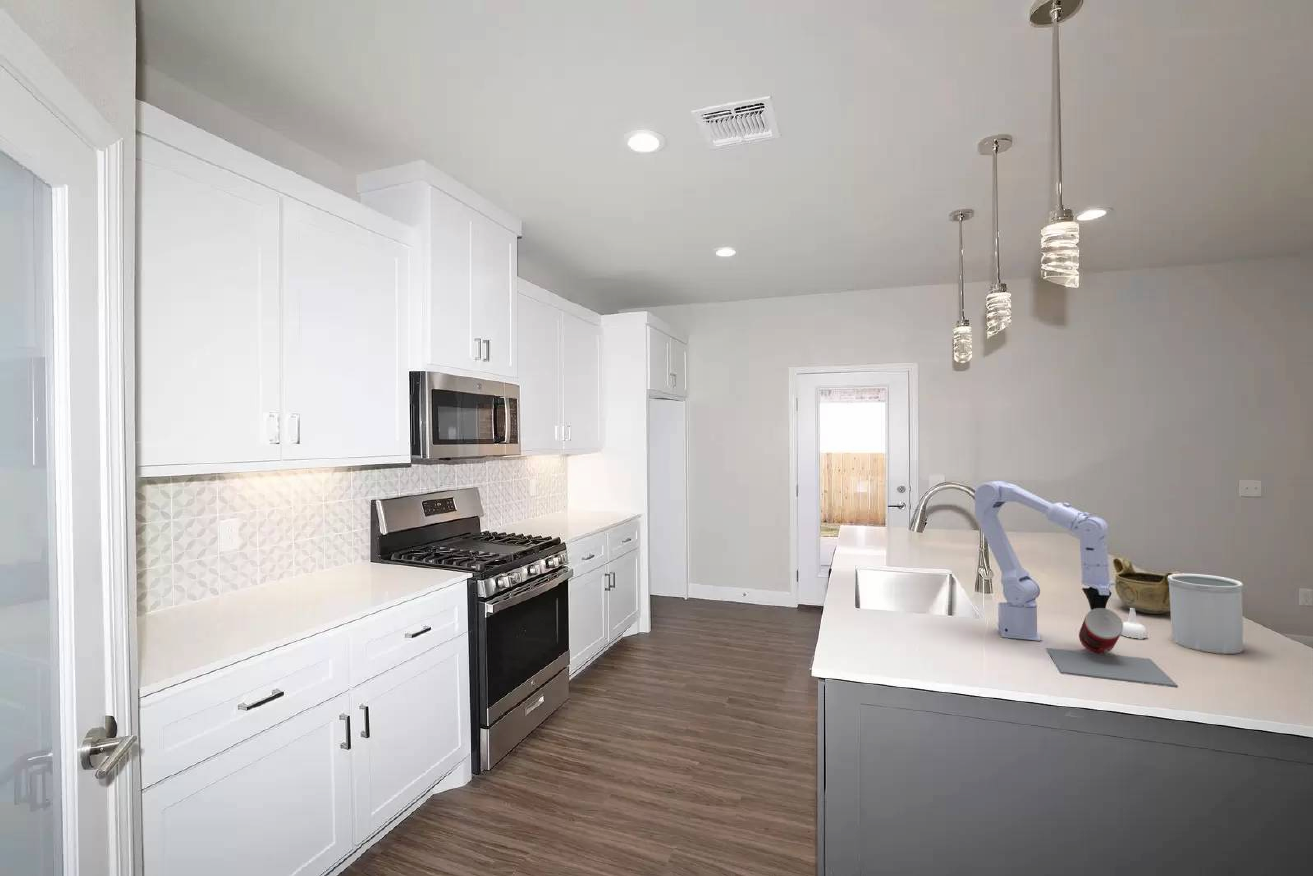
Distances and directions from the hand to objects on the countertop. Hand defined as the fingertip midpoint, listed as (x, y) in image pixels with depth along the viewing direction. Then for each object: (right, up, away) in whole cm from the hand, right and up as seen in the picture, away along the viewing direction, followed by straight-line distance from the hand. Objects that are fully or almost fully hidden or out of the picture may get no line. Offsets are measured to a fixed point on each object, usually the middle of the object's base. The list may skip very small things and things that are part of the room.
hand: (1098, 617), depth 153 cm
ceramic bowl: (+41, -9, +34) cm, 54 cm away
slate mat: (-4, -10, -9) cm, 14 cm away
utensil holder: (+32, -9, +5) cm, 33 cm away
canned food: (+1, -7, +2) cm, 7 cm away
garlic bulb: (+19, -9, +12) cm, 24 cm away
